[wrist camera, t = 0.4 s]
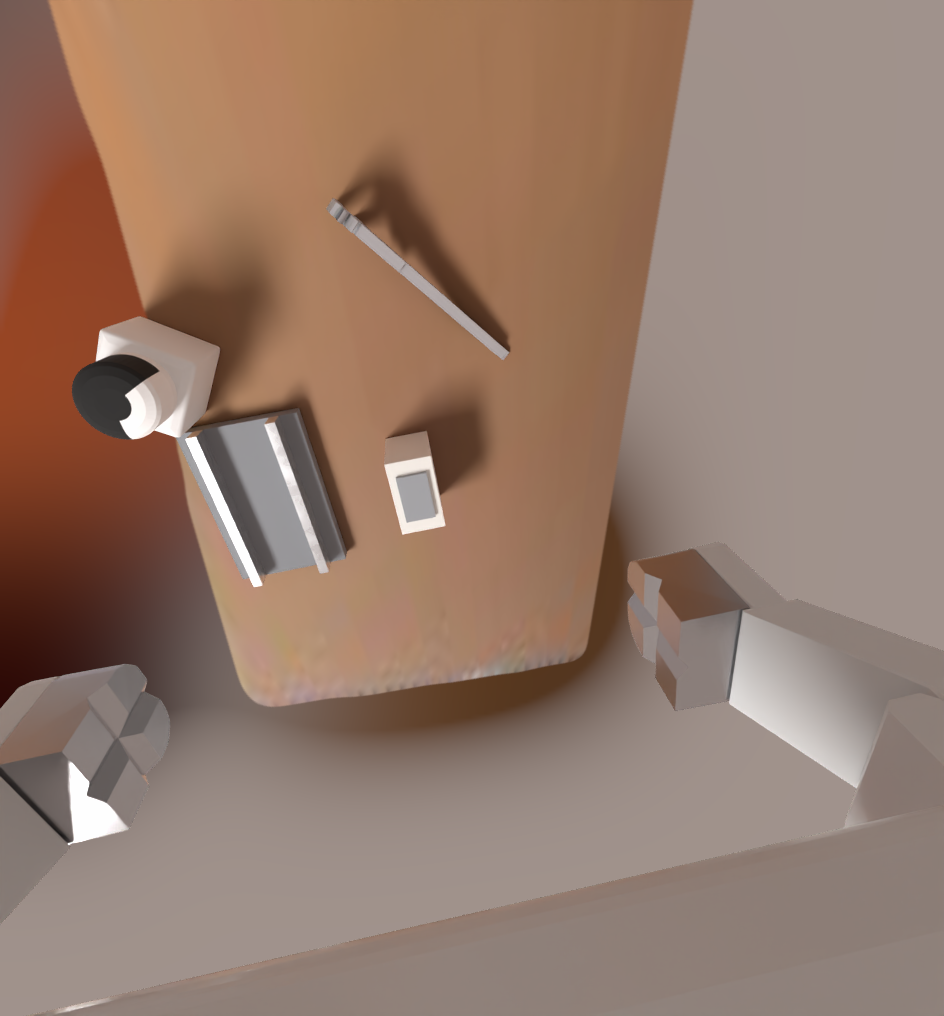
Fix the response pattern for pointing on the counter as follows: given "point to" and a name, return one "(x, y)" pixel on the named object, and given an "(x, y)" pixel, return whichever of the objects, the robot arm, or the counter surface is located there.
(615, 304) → the counter surface
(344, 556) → the rail base
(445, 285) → the counter surface
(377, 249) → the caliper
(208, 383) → the medicine bottle
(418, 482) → the din module
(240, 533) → the din rail
